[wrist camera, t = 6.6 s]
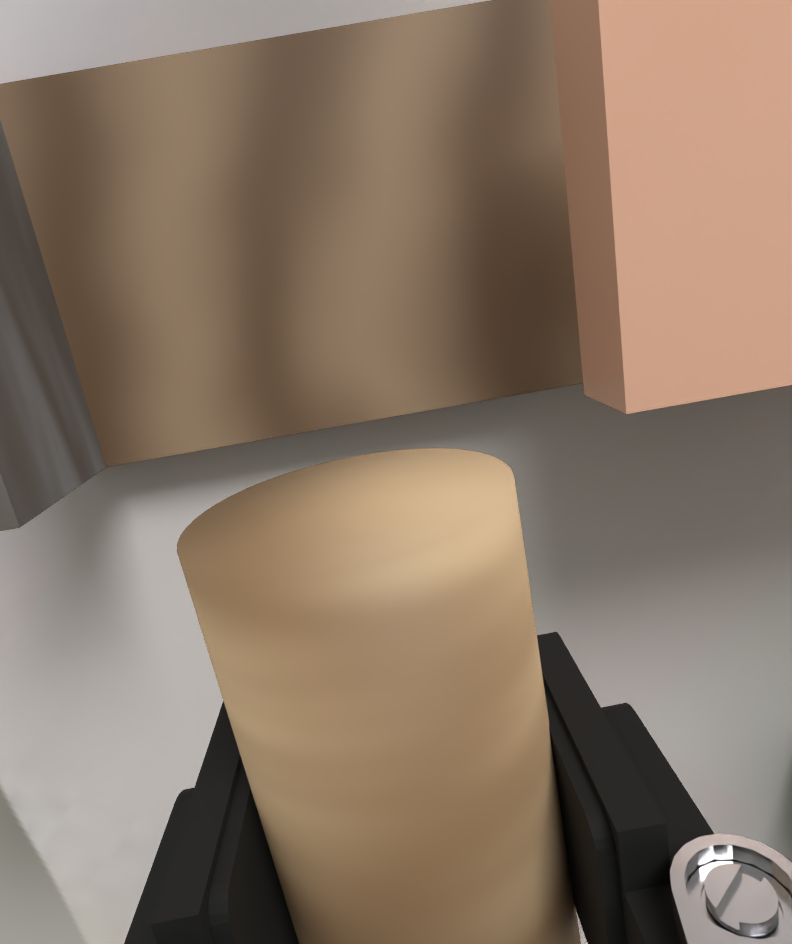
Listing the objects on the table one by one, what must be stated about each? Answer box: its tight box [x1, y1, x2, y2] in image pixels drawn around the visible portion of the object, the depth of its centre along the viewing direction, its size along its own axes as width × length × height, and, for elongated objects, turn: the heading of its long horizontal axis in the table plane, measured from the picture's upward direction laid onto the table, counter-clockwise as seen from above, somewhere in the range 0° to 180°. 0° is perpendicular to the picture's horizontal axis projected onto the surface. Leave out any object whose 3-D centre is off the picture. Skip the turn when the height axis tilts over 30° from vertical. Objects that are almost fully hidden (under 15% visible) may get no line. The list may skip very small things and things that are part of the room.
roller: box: [177, 448, 581, 944], centre depth 9 cm, size 4×10×4 cm, turn 12°
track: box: [0, 0, 583, 531], centre depth 19 cm, size 33×12×8 cm, turn 100°
